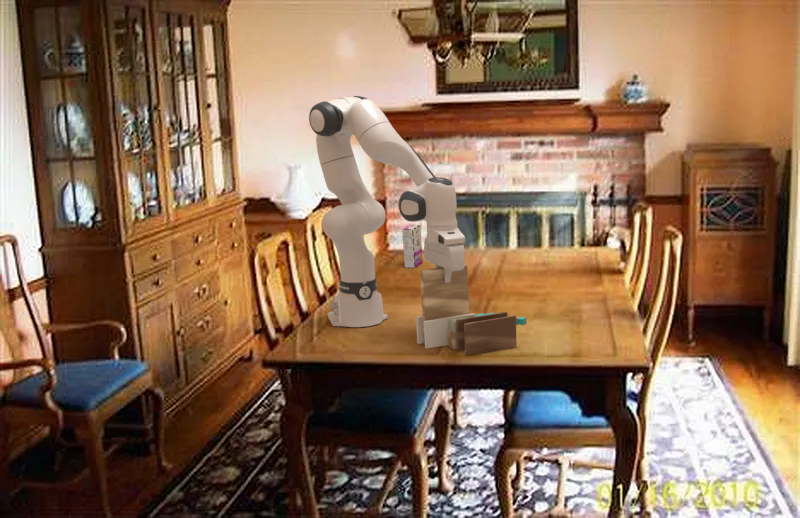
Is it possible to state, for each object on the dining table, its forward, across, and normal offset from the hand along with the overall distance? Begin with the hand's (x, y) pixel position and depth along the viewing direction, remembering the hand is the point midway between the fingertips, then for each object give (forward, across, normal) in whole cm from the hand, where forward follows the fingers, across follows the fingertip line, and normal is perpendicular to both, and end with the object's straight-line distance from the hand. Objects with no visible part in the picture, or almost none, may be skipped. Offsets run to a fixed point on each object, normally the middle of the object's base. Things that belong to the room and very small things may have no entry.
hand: (444, 281), depth 267 cm
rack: (+18, +12, +7) cm, 23 cm away
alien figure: (+19, -9, +17) cm, 27 cm away
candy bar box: (+18, -108, +37) cm, 116 cm away
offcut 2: (+18, +6, +2) cm, 20 cm away
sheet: (+14, 0, 0) cm, 14 cm away
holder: (+18, 0, 0) cm, 18 cm away
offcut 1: (+14, +6, +2) cm, 15 cm away
